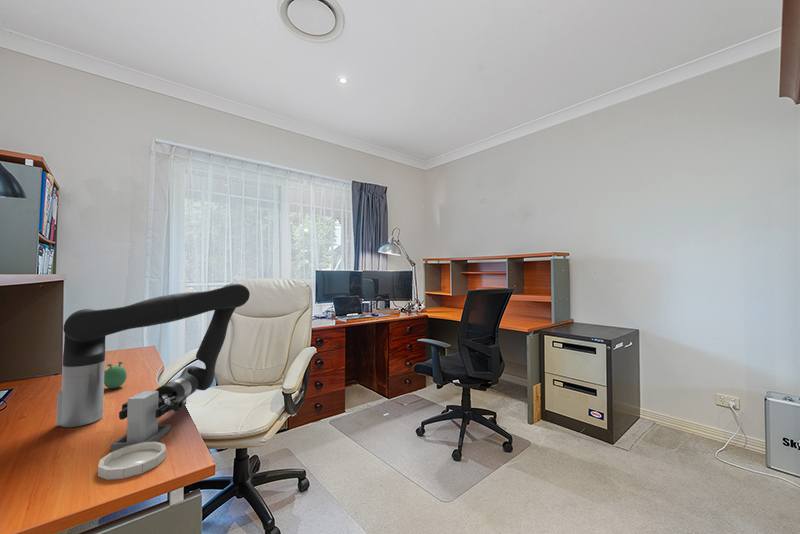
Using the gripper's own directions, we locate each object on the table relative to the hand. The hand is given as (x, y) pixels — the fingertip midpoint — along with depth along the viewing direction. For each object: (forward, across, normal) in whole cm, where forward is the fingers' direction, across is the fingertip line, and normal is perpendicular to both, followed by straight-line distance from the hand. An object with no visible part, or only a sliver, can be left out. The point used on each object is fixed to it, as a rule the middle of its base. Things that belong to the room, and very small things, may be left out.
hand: (139, 415), depth 87 cm
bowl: (+10, +5, +7) cm, 13 cm away
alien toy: (-49, -37, +7) cm, 62 cm away
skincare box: (-2, 0, +8) cm, 8 cm away
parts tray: (-2, 0, +7) cm, 7 cm away
